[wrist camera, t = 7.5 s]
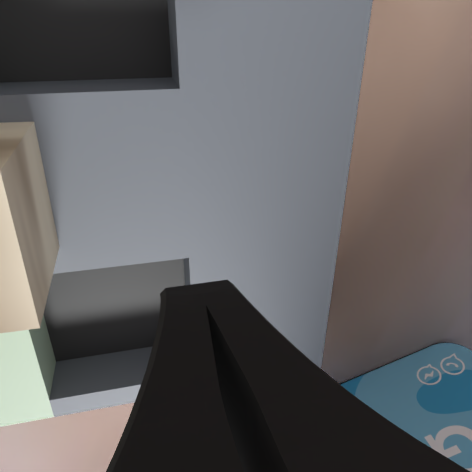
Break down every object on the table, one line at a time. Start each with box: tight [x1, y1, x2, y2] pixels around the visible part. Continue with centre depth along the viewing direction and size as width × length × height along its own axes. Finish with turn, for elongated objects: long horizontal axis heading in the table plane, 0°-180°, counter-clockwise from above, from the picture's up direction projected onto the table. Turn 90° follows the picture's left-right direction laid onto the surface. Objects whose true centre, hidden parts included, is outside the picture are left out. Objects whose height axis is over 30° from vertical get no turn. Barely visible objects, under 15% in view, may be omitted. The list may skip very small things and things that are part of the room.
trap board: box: [0, 0, 373, 427], centre depth 14 cm, size 18×20×4 cm
